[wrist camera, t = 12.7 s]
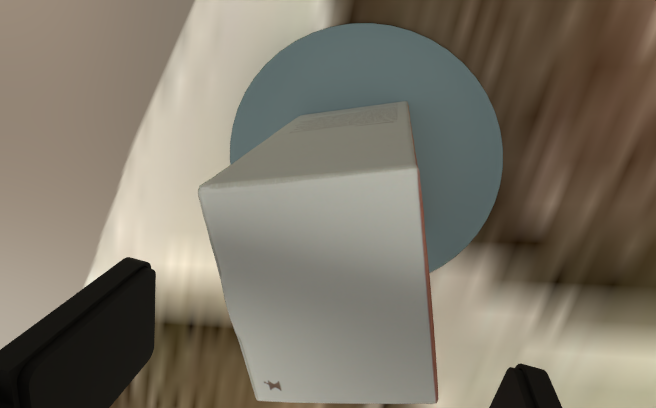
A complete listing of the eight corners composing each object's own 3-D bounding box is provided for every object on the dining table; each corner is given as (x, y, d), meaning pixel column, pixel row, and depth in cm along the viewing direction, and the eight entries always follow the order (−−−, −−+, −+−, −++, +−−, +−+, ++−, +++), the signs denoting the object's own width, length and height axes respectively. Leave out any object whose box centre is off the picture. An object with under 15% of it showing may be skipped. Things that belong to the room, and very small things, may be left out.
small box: (421, 231, 24) (441, 411, 13) (320, 238, 26) (252, 407, 14) (410, 96, 22) (421, 163, 10) (297, 112, 23) (187, 188, 11)
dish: (542, 56, 21) (550, 56, 20) (450, 301, 27) (452, 312, 26) (250, -2, 22) (242, -4, 21) (227, 245, 29) (220, 253, 28)
